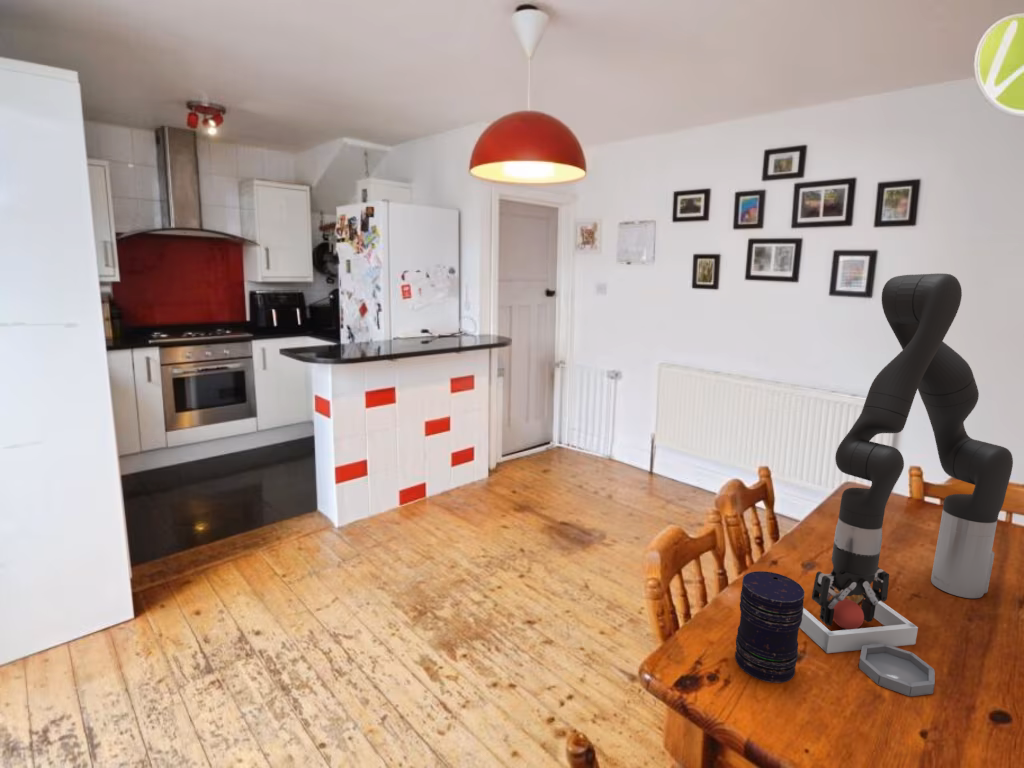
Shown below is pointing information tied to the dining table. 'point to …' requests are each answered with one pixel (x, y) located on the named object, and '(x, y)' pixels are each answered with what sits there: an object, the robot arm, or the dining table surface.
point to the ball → (848, 614)
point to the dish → (897, 669)
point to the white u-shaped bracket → (862, 632)
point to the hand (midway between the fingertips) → (846, 621)
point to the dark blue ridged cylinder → (769, 626)
